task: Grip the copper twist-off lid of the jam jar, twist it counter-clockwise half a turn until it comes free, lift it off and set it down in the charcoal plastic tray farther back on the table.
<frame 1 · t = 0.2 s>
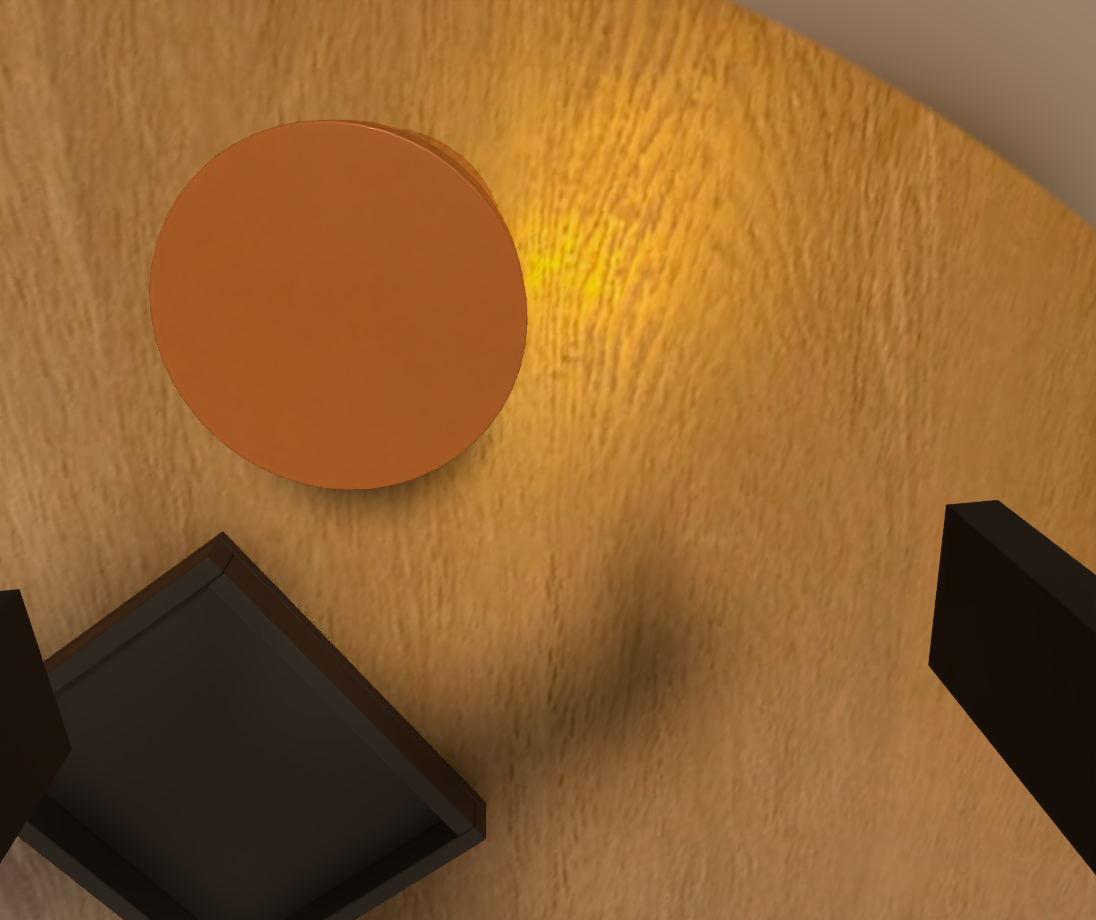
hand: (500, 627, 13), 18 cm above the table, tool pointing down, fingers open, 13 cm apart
lid: (344, 315, 19), point 11 cm above the table, screwed on, not yet turned
tray: (231, 766, 35), on the table
jar: (395, 244, 29), on the table
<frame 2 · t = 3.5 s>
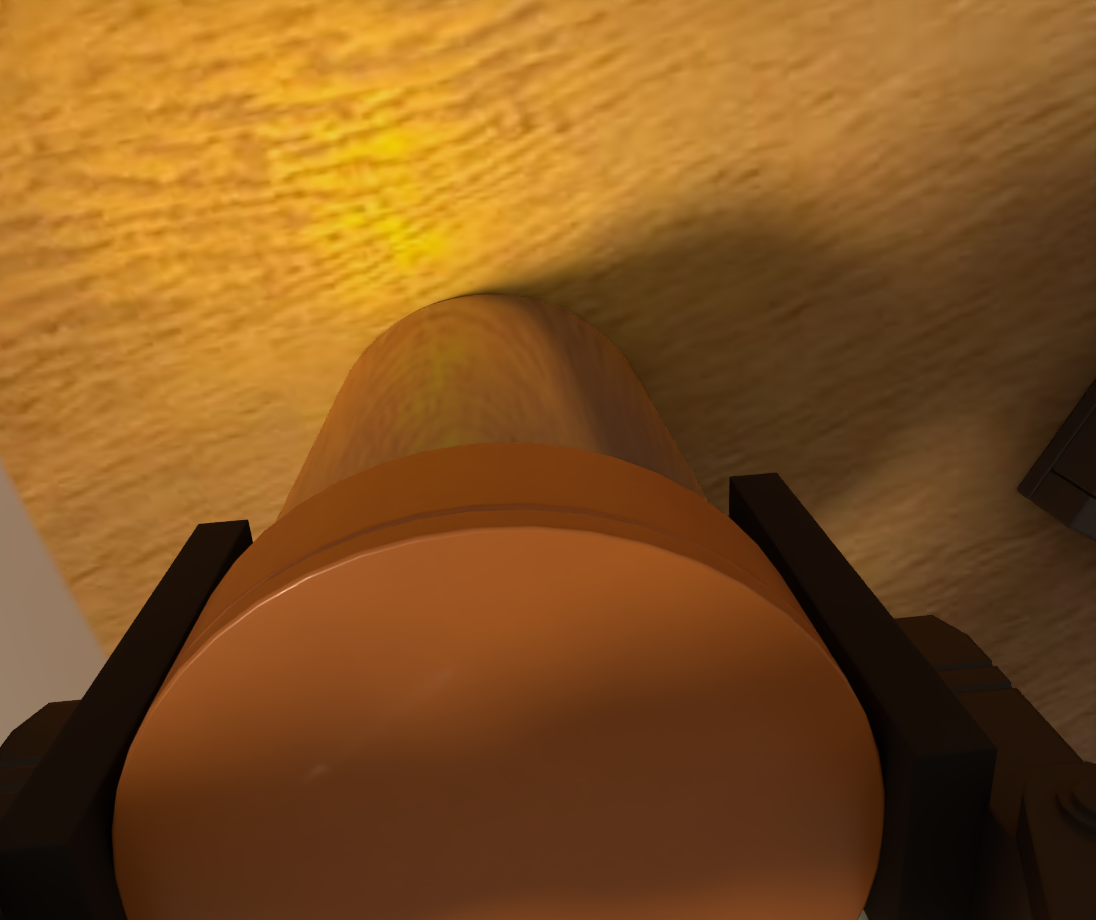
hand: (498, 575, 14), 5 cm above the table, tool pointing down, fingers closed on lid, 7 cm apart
lid: (509, 841, 9), point 11 cm above the table, screwed on, not yet turned, touching gripper
jar: (493, 455, 19), on the table
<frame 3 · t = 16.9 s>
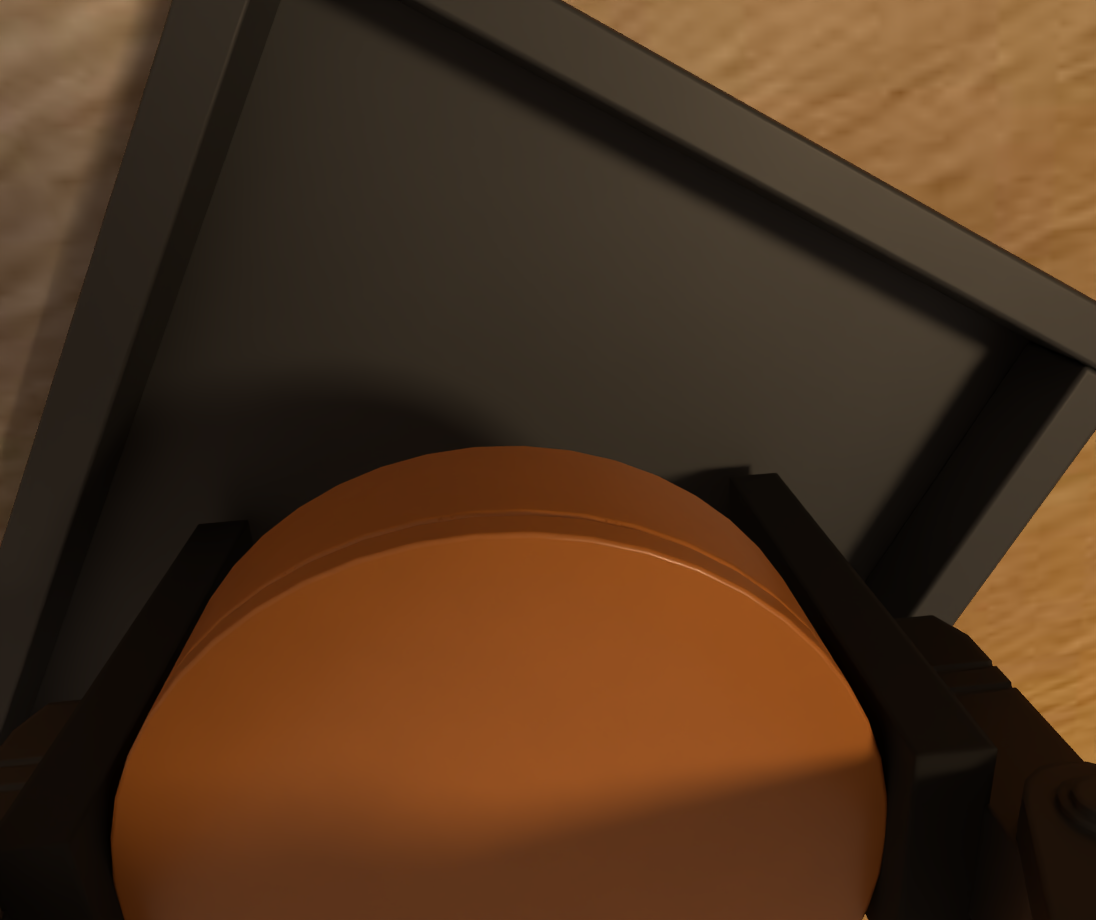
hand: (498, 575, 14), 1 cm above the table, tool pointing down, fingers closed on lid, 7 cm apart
lid: (509, 846, 9), point 7 cm above the table, off its thread, touching gripper
tray: (494, 548, 15), on the table
when the fingers open (2 cm above the table, at t = 25.2 s): lid drops 6 cm, resting on tray.
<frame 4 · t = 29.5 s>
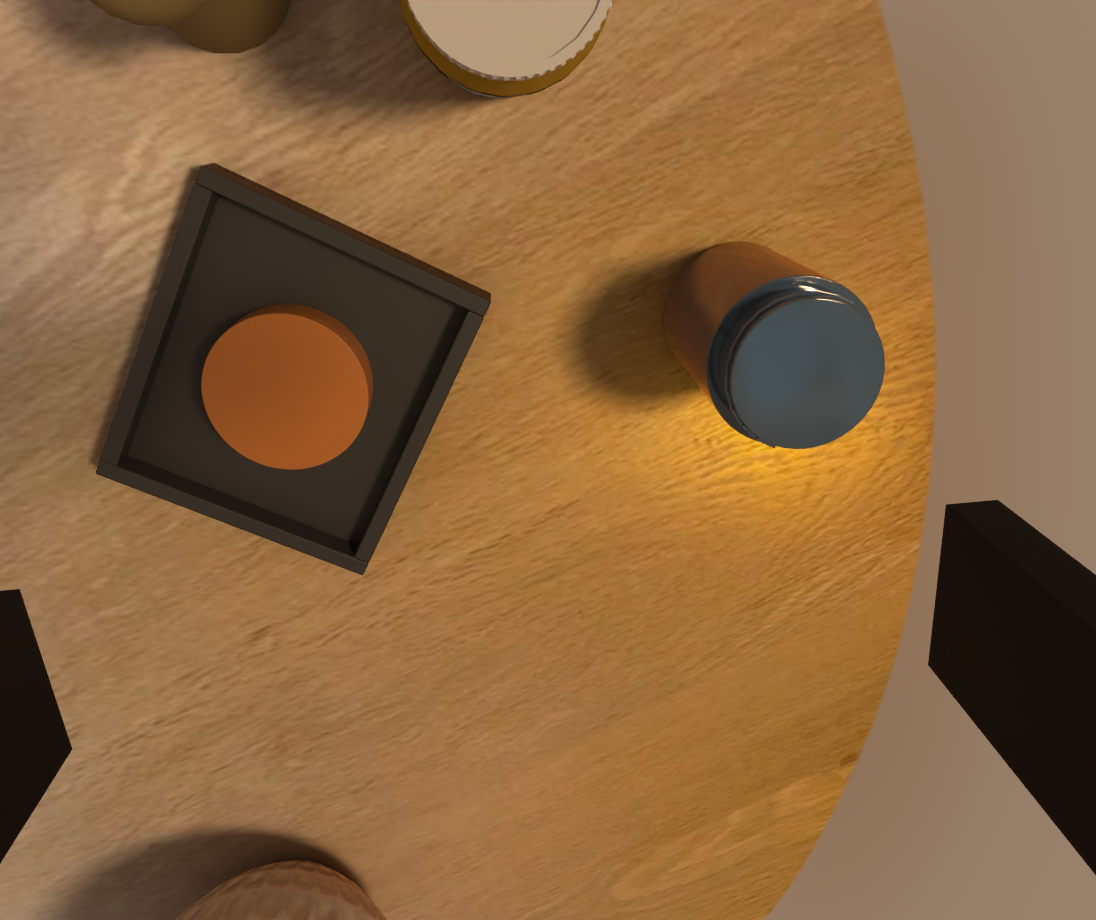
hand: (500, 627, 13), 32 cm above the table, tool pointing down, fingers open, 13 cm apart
bottle: (499, 10, 39), on the table
lid: (287, 391, 42), point 2 cm above the table, off its thread, touching tray
tray: (297, 377, 44), on the table
vase: (299, 898, 56), on the table
jar: (733, 314, 44), on the table
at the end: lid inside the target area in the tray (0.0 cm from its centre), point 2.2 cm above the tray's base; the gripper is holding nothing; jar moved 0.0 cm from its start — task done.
